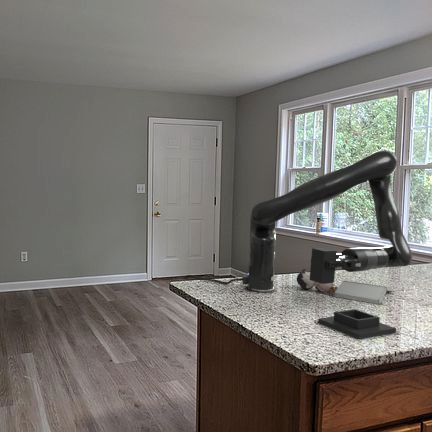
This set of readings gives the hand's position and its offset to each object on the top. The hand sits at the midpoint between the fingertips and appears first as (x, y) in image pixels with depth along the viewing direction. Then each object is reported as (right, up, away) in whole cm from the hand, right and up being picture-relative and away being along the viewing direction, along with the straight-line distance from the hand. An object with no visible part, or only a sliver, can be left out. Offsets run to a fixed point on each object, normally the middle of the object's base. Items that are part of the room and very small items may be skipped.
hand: (318, 262), depth 133 cm
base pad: (+6, -17, -11) cm, 21 cm away
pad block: (+1, -6, +1) cm, 6 cm away
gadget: (+27, -14, +26) cm, 40 cm away
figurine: (+11, -14, +31) cm, 36 cm away
